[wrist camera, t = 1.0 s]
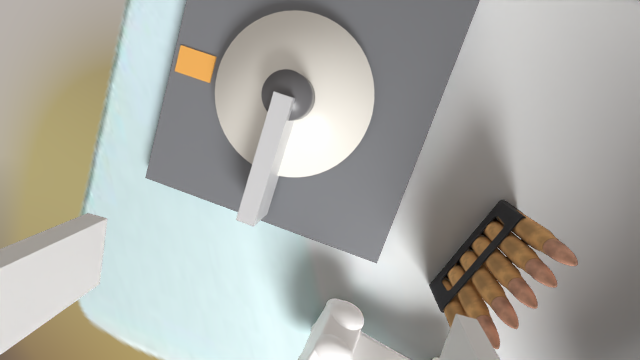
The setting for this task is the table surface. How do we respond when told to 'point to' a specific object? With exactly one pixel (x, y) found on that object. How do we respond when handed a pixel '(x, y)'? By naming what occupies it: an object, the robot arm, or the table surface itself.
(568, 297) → the table surface
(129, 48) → the table surface
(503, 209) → the ammunition clip
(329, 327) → the white bone
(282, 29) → the dial
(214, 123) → the dial base
